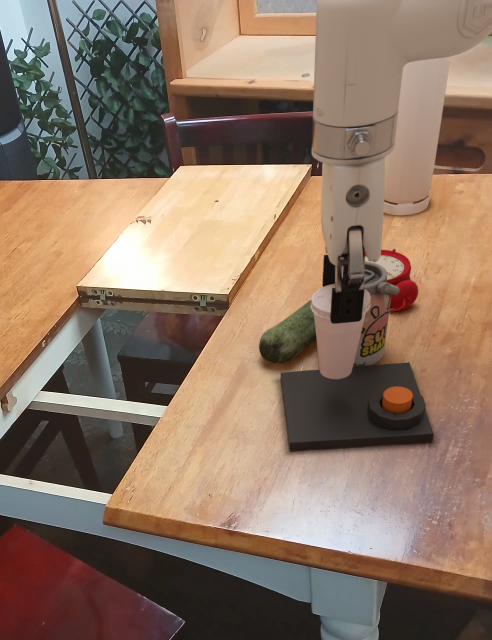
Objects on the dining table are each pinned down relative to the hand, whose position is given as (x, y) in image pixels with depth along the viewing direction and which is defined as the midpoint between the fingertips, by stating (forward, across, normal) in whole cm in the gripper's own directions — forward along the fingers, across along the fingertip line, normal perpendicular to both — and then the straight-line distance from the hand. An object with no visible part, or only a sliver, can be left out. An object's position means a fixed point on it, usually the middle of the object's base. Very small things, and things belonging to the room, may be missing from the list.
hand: (341, 302), depth 81 cm
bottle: (+15, +53, -18) cm, 58 cm away
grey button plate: (+14, -1, -2) cm, 15 cm away
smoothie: (+9, 0, 0) cm, 9 cm away
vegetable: (+15, +14, +3) cm, 20 cm away
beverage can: (+15, +11, -4) cm, 18 cm away
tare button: (+12, -4, -6) cm, 14 cm away
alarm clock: (+15, +24, -9) cm, 30 cm away
